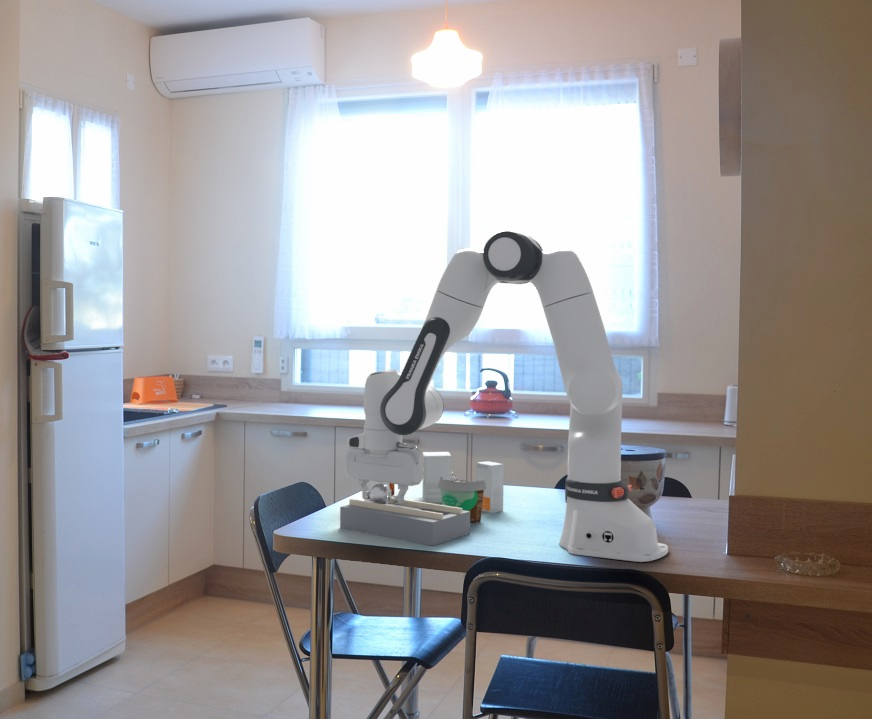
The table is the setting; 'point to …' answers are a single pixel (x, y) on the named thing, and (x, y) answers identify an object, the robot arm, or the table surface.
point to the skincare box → (491, 485)
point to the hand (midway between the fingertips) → (382, 501)
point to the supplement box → (435, 474)
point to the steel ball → (380, 494)
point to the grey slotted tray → (406, 520)
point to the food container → (463, 496)
